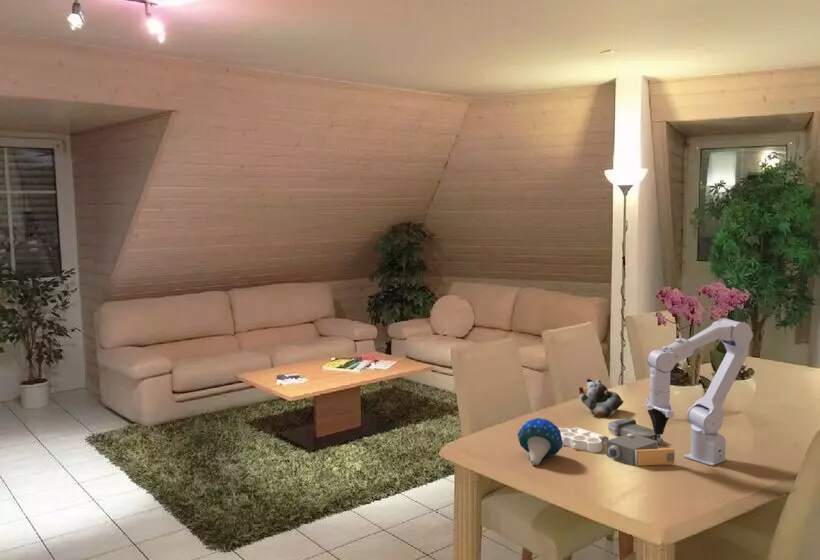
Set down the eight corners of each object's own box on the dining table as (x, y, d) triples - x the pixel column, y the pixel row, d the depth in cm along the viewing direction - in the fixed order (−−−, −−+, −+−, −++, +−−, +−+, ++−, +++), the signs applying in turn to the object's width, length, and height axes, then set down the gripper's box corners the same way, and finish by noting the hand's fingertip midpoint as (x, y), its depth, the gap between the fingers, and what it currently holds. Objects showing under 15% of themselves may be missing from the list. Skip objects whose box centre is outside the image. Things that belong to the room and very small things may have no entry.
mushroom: (514, 444, 206) (524, 404, 215) (509, 468, 216) (519, 428, 226) (561, 457, 202) (569, 416, 212) (554, 481, 212) (562, 440, 222)
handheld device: (653, 450, 222) (653, 436, 221) (604, 433, 238) (604, 420, 238) (672, 444, 227) (672, 430, 226) (623, 428, 243) (623, 415, 243)
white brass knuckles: (616, 446, 226) (588, 456, 217) (572, 432, 240) (544, 441, 231) (616, 436, 226) (588, 446, 217) (572, 423, 240) (544, 432, 231)
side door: (675, 464, 207) (675, 449, 207) (636, 466, 206) (636, 451, 206) (672, 462, 209) (673, 448, 209) (634, 464, 208) (634, 449, 208)
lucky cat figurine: (607, 420, 252) (588, 386, 252) (584, 424, 261) (566, 392, 262) (630, 401, 260) (611, 368, 261) (607, 406, 270) (589, 374, 271)
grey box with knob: (657, 456, 215) (658, 439, 214) (630, 466, 207) (630, 448, 207) (630, 447, 223) (631, 431, 222) (603, 457, 215) (603, 439, 215)
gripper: (637, 384, 215) (636, 426, 216) (657, 397, 200) (656, 442, 202) (658, 383, 215) (657, 425, 217) (681, 396, 201) (679, 441, 202)
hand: (658, 433), depth 209 cm, fingers closed
